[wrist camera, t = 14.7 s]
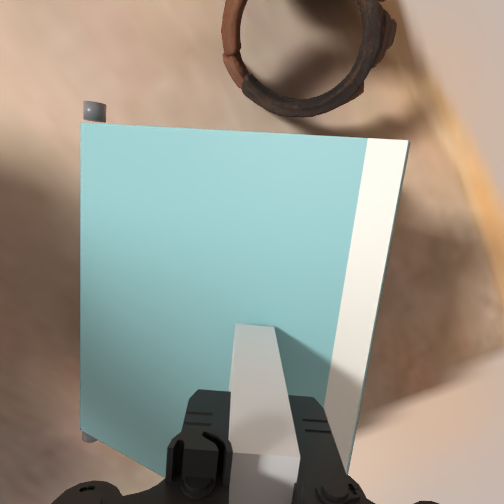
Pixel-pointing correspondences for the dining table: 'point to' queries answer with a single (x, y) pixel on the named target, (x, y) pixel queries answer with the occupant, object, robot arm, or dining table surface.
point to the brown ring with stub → (371, 53)
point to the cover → (227, 270)
